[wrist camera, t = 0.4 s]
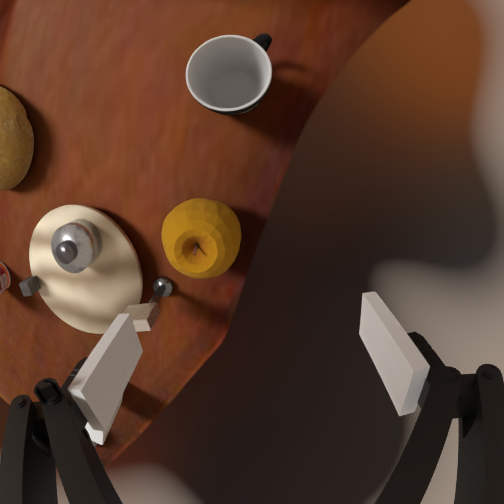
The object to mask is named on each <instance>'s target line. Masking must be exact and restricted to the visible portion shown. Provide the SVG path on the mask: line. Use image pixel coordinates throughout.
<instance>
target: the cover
mask: <svg viewBox="0 0 504 504" xmlns="http://www.w3.org/2000/svg"><path fill="white" fill-rule="evenodd" d="M51 249H52V254H53V256H54V259H55V261H56V262H57V264H58V265H59V266H60V267H61V268H62V269H64V270H65V271H67V272H69V273H80V272H82V271H83V270H85V269H86V268H87V267H88V266H89V265H91V264H92V263H93V262H94V261H96V260H97V259H98V258H99V256H100V254H101V251H102V238H101V235H100V233H99V231H98V229H97V228H96V226H95V225H94V224H93V223H91V222H90V221H88V220H86V219H76V220H73V221H71V222H69V223H67V224H65V225H63V226H61V227H59V228H58V229H57V230H56V231H55V232H54V234H53V236H52V240H51Z"/></svg>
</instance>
